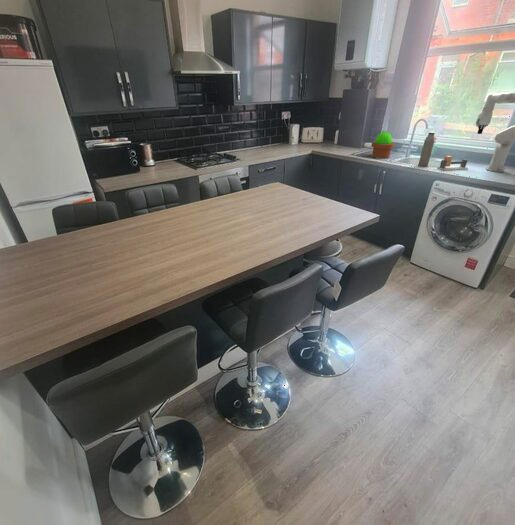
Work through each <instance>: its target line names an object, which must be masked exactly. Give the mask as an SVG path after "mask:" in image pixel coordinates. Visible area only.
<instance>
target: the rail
mask: <svg viewBox="0 0 515 525" xmlns="http://www.w3.org/2000/svg"><path fill="white" fill-rule="evenodd" d="M446 162H447V161H446V160H444V159H442V160H441V162H440V164H439V166H436V168H437V169H439V170H441V169H442V171H444V170H445V171H463V170H465V171H466V170H468V167H467V163H468V159H466V158H462V159H461V160H454V161H451V164H450V166H448V167H445V166H446Z"/></svg>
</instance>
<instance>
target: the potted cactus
mask: <svg viewBox="0 0 515 525" xmlns="http://www.w3.org/2000/svg"><path fill="white" fill-rule="evenodd" d="M370 145H371V146H370V147H372V154H371V156H374V157H373V158H376V157H379V158H378V159H388V158H390V157H391V156H390V155H391V150H392V149H393V148H395V142H393V137H392V135H391V133H389V132H388V131H384V130H383V131H381V132H380V133H379V134H378V135H376V138H375V141H372V142H371V144H370ZM387 157H388V158H387Z"/></svg>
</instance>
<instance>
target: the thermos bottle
mask: <svg viewBox="0 0 515 525" xmlns="http://www.w3.org/2000/svg"><path fill="white" fill-rule="evenodd" d="M435 134H436V133H435V132H428V134H427V136H426V137H425V139H424V141H423V145H422V150H421V153H420V156H419V159H418V160H419V162H418V167H429V162H430V160H431V157H432V152H433V148H434V145H435V141H436V139H435V138H436V137H435Z"/></svg>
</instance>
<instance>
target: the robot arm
mask: <svg viewBox="0 0 515 525" xmlns="http://www.w3.org/2000/svg"><path fill="white" fill-rule="evenodd" d="M483 103H484V104H483V107H482V109H481V111H480V112H479V114H478V115H477V119H476V120H475V127H477V133H476V134H478V135H482V134H483V132H484V130H485V128H486V127H488V126H489V125H490V124H491V121H492V118H493V111H494V110H495V109H494V108H495V105H496V104H515V92H498V93H497V92H489V93H487V95H486V97H485V100H484V102H483ZM494 141H495V143H496V144H497V145H496V146H495V149H494V152H493V155H492V157H491V160H490V163H489V165H488V167H486V168H485V170H487V171H490V172H495V173H496V172H498V173H500V172H504V171H505V170H506V169H507V168H506V167H505V163H506V160H507V158H508V155H509V152H510V150H511V148H512V146H513V144H514V143H515V124H514V125H512V126H510V127H508V128H506V129H504V130H501V131H499V132H498V133H497V134H496V135H495V137H494Z"/></svg>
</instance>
